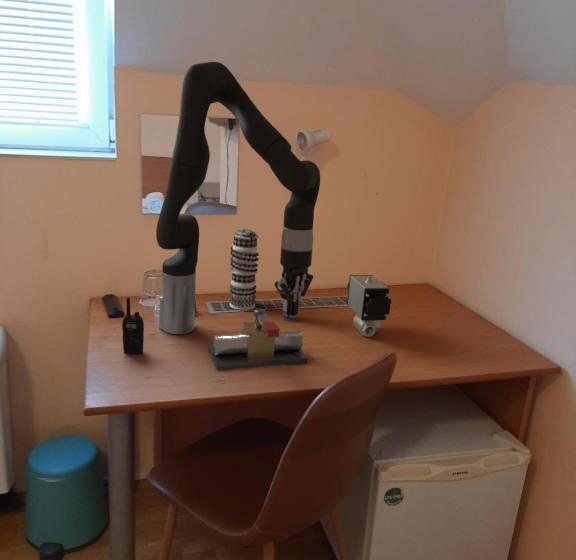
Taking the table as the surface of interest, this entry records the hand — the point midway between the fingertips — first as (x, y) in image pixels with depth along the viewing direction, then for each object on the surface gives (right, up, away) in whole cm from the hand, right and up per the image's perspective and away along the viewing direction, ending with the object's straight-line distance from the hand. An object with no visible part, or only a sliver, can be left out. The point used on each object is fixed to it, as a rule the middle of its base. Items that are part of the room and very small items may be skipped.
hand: (292, 314), depth 145 cm
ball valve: (+22, -8, +32) cm, 40 cm away
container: (0, -4, +40) cm, 40 cm away
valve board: (-9, -12, +11) cm, 18 cm away
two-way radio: (-41, -10, +9) cm, 44 cm away
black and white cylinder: (-16, 0, +48) cm, 51 cm away
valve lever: (-7, -3, +2) cm, 8 cm away
